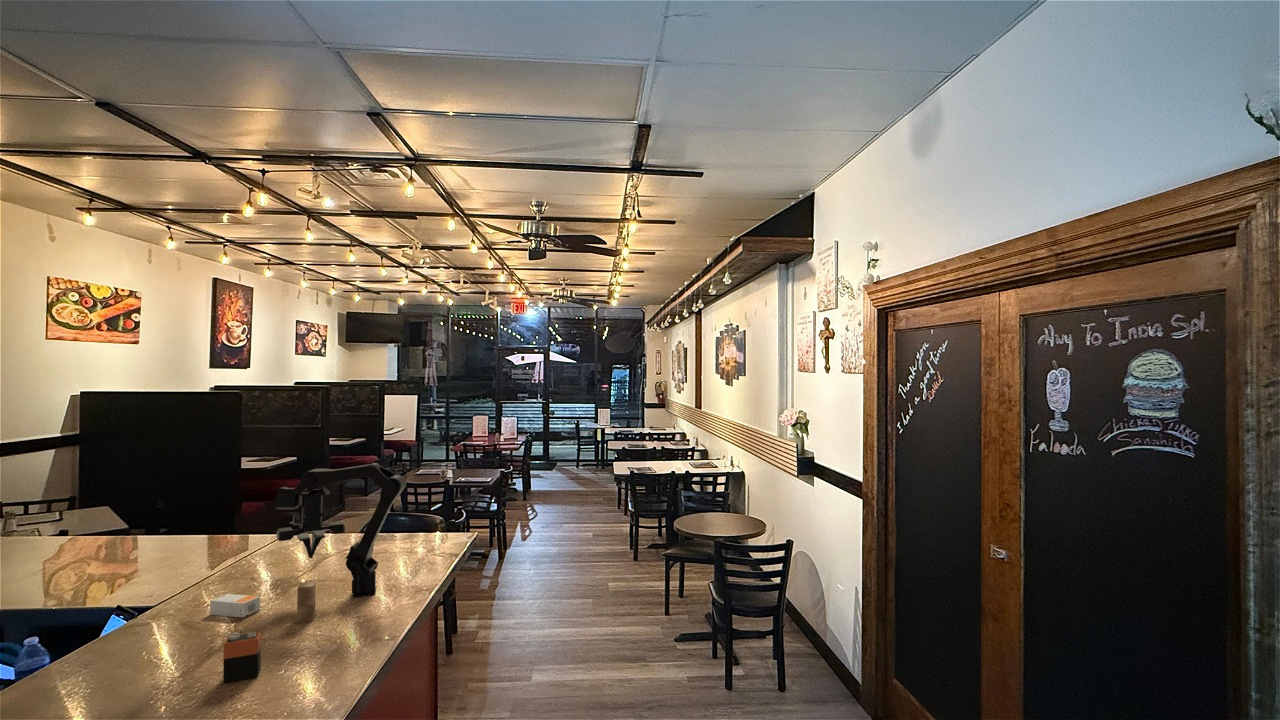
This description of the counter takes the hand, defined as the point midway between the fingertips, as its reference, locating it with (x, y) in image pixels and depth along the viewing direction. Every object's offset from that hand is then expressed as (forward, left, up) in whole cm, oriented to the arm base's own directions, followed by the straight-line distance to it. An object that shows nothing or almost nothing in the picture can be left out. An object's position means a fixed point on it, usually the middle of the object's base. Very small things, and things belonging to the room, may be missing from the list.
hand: (310, 557), depth 191 cm
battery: (+6, +53, -12) cm, 54 cm away
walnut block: (-2, +21, -12) cm, 24 cm away
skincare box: (+13, +11, -10) cm, 20 cm away
